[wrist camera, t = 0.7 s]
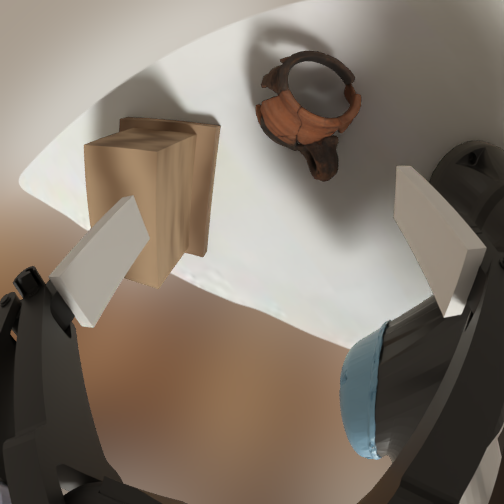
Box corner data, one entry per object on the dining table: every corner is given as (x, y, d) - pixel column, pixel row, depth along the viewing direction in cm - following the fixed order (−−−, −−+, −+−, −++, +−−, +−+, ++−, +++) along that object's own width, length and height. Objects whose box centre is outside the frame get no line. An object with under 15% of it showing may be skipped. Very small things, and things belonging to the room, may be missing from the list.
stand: (220, 125, 28) (181, 142, 19) (206, 250, 37) (176, 301, 28) (126, 117, 29) (69, 133, 20) (128, 231, 37) (86, 271, 29)
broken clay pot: (237, 91, 26) (248, 51, 18) (316, 73, 27) (346, 38, 19) (279, 196, 28) (306, 190, 20) (356, 169, 29) (400, 158, 21)
